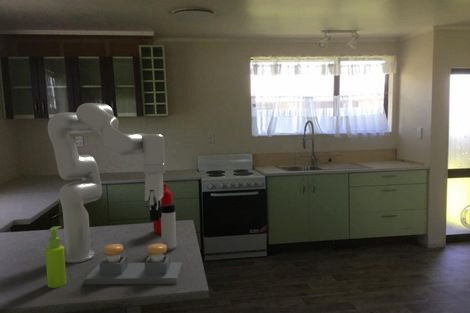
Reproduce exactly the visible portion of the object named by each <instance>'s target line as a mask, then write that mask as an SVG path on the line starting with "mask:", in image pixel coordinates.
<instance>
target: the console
mask: <svg viewBox="0 0 470 313" xmlns="http://www.w3.org/2000/svg"><path fill="white" fill-rule="evenodd" d="M163 256H164V262H163V263H151V255H149V256H148V257H147V259H146V260H145V262H128V255H120V263H108V262H107V256H105V257H104V258H103V259H102V260H101V262H99V263H98V264H97V265H96V266H95V267H94V268H93V269H92V271H91V272H89V273H88V275H87V276H86V277H85V278H84V285H145V284H147V285H153V284H157V285H159V284H173V285H175V284H177V283H178V282H179V279H180V276H181V273H182V269H183V262H182V261H181V262H180V261H177V262H175V261H174V262H173V261H172V262H171V257H170V256H171V255H164V254H163Z"/></svg>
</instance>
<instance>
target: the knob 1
mask: <svg viewBox="0 0 470 313" xmlns="http://www.w3.org/2000/svg"><path fill="white" fill-rule="evenodd" d="M102 250H103V252H102V253H103V255H105V256H106V257H107V262H108V263H120V256H121V254H122V253H123V252H124V246H123V244H121V243H112V244H107V245H105V246H104V247H103V249H102Z"/></svg>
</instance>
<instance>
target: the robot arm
mask: <svg viewBox="0 0 470 313" xmlns="http://www.w3.org/2000/svg"><path fill="white" fill-rule="evenodd" d="M119 125H120V124H119V119H118V118H117V117H116V116H115V114H114V110H113V109H112V107H111V106H109V105H108V104H106V103H99V102H86V103H83V104H81V105H79V106H78V107H77V109H76V111H75V112H72V111H71V112H58V113H55V114H53V115H52V116H51V117H50V118H49V120H48V123H47V133H48V136H49V139H50V143H52V147H53V150H54V156H55V161H56V165H57V171H58V173H59V177H60V178H61V179H63V180H67V181H69V180H74V179H75V180H76V179H81V180H79V181H74V182H68V183H67V184H64V185H63V186H62V187H60V190H59V193H58V196H59V201H60V204H61V208H62V217H63V220H62V221H63V230H64V231H63V232H64V234H63V235H64V253H65V264H66V263H68V264H76V263H82V262H86V261H89V260H92V258H94V257H95V256H96V255H95V251H94V250H91V236H90V235H91V234H90V219H89V212H88V211H87V209H86V208H85V204H88V203H92V202H95V201H98V200H99V199H100V198H101V196H102V194H103V186H102V181H101V176H100V172H99V171H100V170H99V167H98V163H97V161H96V159H95V158H94V157H93V156H92V155H90V154H79V151H78V147H77V143H76V142H75V140H74V139H73V137H71V136H70V134H86V133H92V132H95V133H98V134H99V135H100V137H101V141H102V142H103V144H104V145H105V146H106V147H107V148H109V149H110V150H111V151H113V152H115V153H117V154H119V155H121V156H133V155H140V154H142V158H143V159H142V162H143V164H142V166H143V174H144V176H145V178H144V202H149V204H148V205H149V220H150V222H154V221H159V218H161V217H162V208H161V198H162V197H163V183H164V175H163V174H165V173H166V156H165V154H166V153H165V151H166V150H165V148H166V147H165V136H164V135H163V134H160V133H159V134H158V133H152V134H151V133H149V134H148V133H144V132H143V133H141V132H138V133H123V132H121V131H119V130H118V129H119Z"/></svg>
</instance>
